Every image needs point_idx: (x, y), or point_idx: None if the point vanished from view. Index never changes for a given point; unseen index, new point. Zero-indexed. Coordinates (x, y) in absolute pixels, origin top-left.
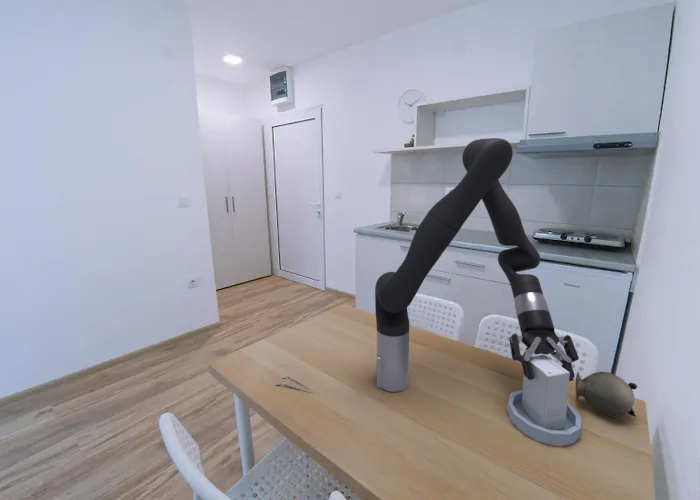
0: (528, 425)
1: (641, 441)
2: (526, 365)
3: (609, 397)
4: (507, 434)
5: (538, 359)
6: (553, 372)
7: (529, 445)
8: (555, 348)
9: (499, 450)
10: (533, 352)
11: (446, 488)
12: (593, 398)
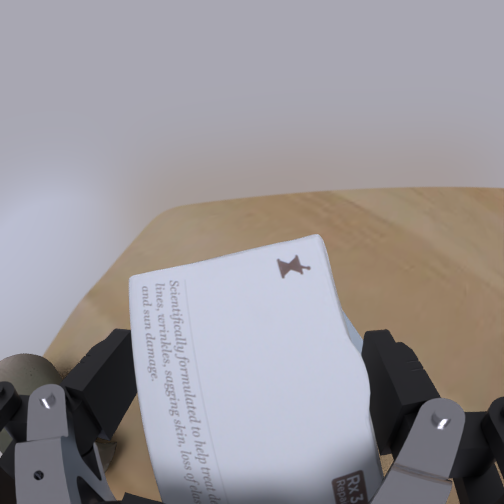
0: (345, 316)
1: (70, 322)
2: (422, 388)
3: (42, 372)
4: (386, 328)
5: (284, 486)
6: (255, 274)
7: (341, 298)
8: (63, 491)
9: (413, 273)
10: (394, 473)
11: (480, 194)
12: None
